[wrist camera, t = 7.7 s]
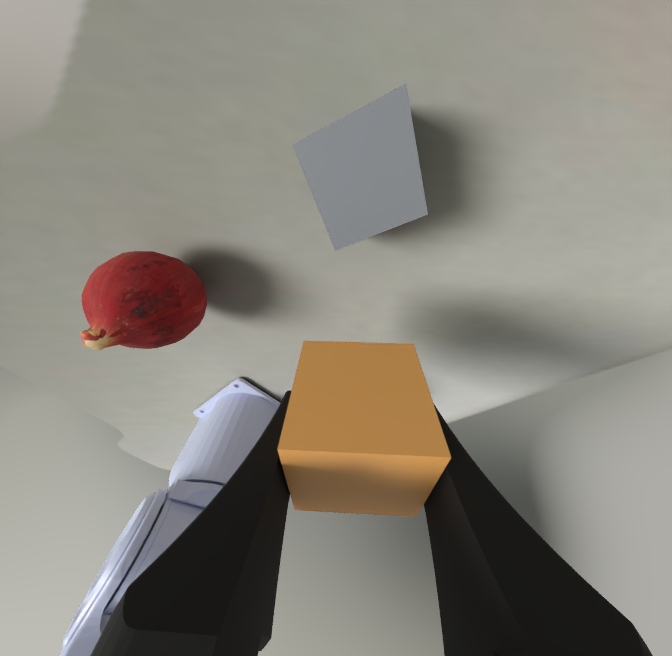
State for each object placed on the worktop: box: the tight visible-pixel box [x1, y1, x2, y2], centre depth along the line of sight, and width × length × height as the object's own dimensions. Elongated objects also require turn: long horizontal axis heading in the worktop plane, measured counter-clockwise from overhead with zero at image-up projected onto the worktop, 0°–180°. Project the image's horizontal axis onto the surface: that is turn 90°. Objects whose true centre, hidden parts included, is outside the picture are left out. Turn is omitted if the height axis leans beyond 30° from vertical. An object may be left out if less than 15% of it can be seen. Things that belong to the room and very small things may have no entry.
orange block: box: [277, 341, 451, 517], centre depth 10 cm, size 5×5×5 cm
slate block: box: [293, 84, 428, 250], centre depth 12 cm, size 4×4×4 cm
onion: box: [80, 251, 207, 350], centre depth 15 cm, size 6×6×8 cm
